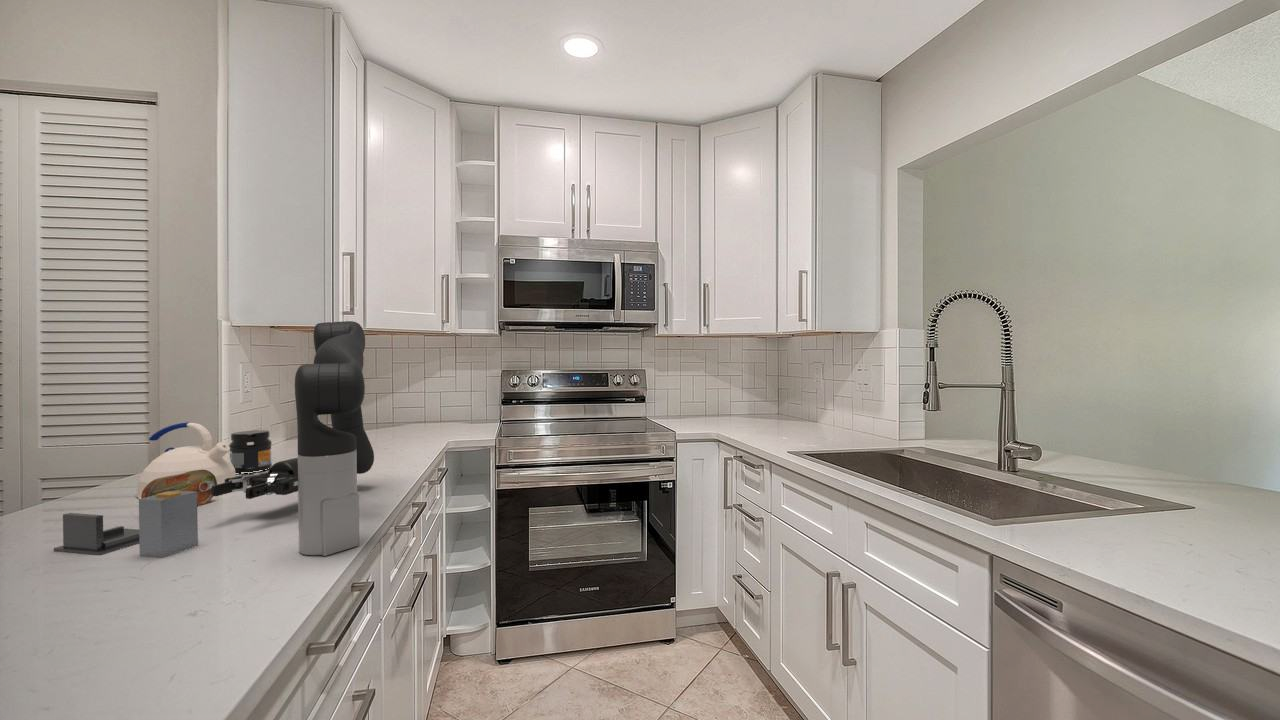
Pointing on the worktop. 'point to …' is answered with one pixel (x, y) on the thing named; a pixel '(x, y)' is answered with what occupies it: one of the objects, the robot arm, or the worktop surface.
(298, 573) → the worktop surface
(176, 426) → the kettle
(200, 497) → the tin
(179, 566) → the worktop surface
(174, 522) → the metal block with pad
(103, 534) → the bracket
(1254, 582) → the worktop surface
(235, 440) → the supplement container
